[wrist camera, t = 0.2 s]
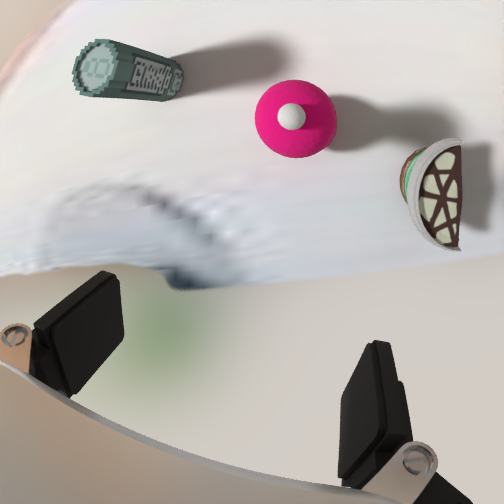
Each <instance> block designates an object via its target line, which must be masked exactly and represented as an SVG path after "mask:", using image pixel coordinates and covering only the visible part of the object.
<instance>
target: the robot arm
mask: <svg viewBox="0 0 504 504" xmlns="http://www.w3.org/2000/svg"><path fill="white" fill-rule="evenodd" d="M34 327H35V329H33V330H32V331H31V329H30V327H28V326H27V325H25V324H19V323H17V324H12V325H9V326H7V327H6V328H4V329H3V330H2V331H1V332H0V504H473V503H472V502H471V501H470V499H468V498H467V497H466V496H465V495H463V494H462V493H461V492H460V491H459V490H457V489H456V488H455V487H454V486H452V485H451V484H450V483H449V482H448V481H446V480H445V479H444V478H443V477H441V476H440V475H439V474H438V473H437V472H436V469H437V467H438V459H437V455H436V454H435V452H434V450H433V449H432V448H431V447H429V446H428V445H427V444H424V443H422V442H418V441H413V436H412V430H411V423H410V417H409V411H408V405H407V400H406V395H405V390H404V385H403V383H402V382H401V381H398V377H397V372H396V367H395V362H394V358H393V353H392V349H391V345H390V343H389V342H384V341H378V340H374V341H373V342H372V343H368V344H367V345H366V347H365V349H364V352H363V354H362V356H361V358H360V360H359V362H358V364H357V366H356V368H355V370H354V372H353V374H352V376H351V378H350V381H349V382H348V384H347V386H346V388H345V390H344V392H343V394H342V397H341V412H340V413H341V414H340V442H339V443H340V444H339V462H338V478H342V485H341V486H343V487H339V486H333V485H326V484H319V483H312V482H306V481H300V480H294V479H289V478H284V477H279V476H273V475H269V474H264V473H260V472H255V471H251V470H247V469H243V468H239V467H235V466H231V465H228V464H224V463H220V462H217V461H214V460H210V459H207V458H204V457H201V456H198V455H195V454H192V453H189V452H186V451H183V450H180V449H178V448H175V447H172V446H169V445H166V444H164V443H161V442H159V441H156V440H154V439H151V438H149V437H146V436H144V435H142V434H139V433H137V432H135V431H132V430H130V429H128V428H126V427H124V426H122V425H119V424H117V423H115V422H113V421H111V420H109V419H107V418H105V417H103V416H101V415H99V414H97V413H95V412H93V411H91V410H89V409H87V408H85V407H83V406H82V405H80V404H78V403H76V402H74V401H73V400H71V399H70V397H71V396H72V395H73V394H77V393H78V392H79V391H80V390H81V389H82V387H83V386H84V385H85V384H86V382H87V381H88V380H89V379H90V378H91V377H92V375H93V374H94V373H95V372H96V371H97V370H98V368H99V367H100V366H101V365H102V364H103V363H104V361H105V360H106V359H107V358H108V357H109V356H110V354H111V353H112V352H113V351H114V350H115V349H116V347H117V346H118V345H119V344H120V343H121V342H122V340H123V338H124V325H123V316H122V306H121V295H120V282H119V280H118V279H117V277H116V275H115V274H112V273H109V272H106V271H100V272H99V273H97V274H96V275H95V276H93V277H92V278H91V279H89V280H88V281H87V282H85V283H84V284H83V285H81V286H80V287H79V288H77V289H76V290H75V291H74V292H72V293H71V294H70V295H68V296H67V297H66V298H64V299H63V300H62V301H61V302H60V303H58V304H57V305H56V306H54V307H53V308H52V309H51V310H50V311H48V312H47V313H46V314H45V315H43V316H42V317H41V318H39V319H38V320H37V321H36V322H35V323H34ZM57 391H58V392H57ZM346 487H351V488H346Z"/></svg>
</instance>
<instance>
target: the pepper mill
mask: <svg viewBox="0 0 504 504" xmlns="http://www.w3.org/2000/svg"><path fill="white" fill-rule="evenodd" d="M255 125H256V129H257V132H258V134H259V136H260V138H261V139H262V141H263V142H264V143H265V144H266V145H267V146H268V147H269V148H270V149H271V150H273V151H274V152H276V153H278V154H280V155H283V156H286V157H290V158H303V157H308V156H311V155H314V154H316V153H318V152H319V151H321V150H323V149H324V148H325V147H327V146H328V145H329V143H330V142H331V141H332V139H333V138H334V135H335V133H336V128H337V120H336V112H335V109H334V106H333V104H332V102H331V100H330V98H329V97H328V96H327V94H326V93H325V92H324V91H323V90H321V89H320V88H319V87H317V86H315V85H314V84H311V83H309V82H306V81H302V80H287V81H283V82H280V83H277V84H275V85H273V86H272V87H271V88H269V89H268V90H267V91H266V92H265V93H264V94H263V95H262V97H261V98H260V100H259V102H258V104H257V107H256V111H255Z"/></svg>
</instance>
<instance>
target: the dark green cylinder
mask: <svg viewBox="0 0 504 504" xmlns="http://www.w3.org/2000/svg"><path fill="white" fill-rule="evenodd" d="M181 69H182V68H180V65H179V64H176V61H173V60H171V59H168V58H165V57H163V56H160V55H157V54H154V53H151V52H148V51H145V50H142V49H139V48H136V47H133V46H130V45H126V44H123V43H120V42H116V41H113V40H108V39H95V42H89V44H88V46H85V48H84V49H81V52H80V56H77V57H76V60H75V64H74V67H73V71H72V74H74V77H73V81H72V82H75V83H74V86H76V89H75V90H78V91H80V94H79V95H84V96H89V97H103V98H123V99H138V100H150V101H161V102H163V100H169V98H172V96H175V95H176V92H177V91H180V88H181V85H182V82H183V79H184V77H182V74H183V71H181Z"/></svg>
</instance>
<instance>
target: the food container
mask: <svg viewBox="0 0 504 504" xmlns="http://www.w3.org/2000/svg"><path fill="white" fill-rule="evenodd" d="M460 145H465V143H463V141H462V140H460V139H459V138H457V137H454V138H446V139H442V140H440V141H438V142H436V143H434V144H432V145H431V146H429V147H424V148H422V149H419V150H417V151H415V152H414V153H413V154H412V155H411V156H410V157H408V158H407V160H406V162H405V164H404V165H403V167H402V170H401V175H400V189H401V192H402V195H403V197H404V199H405V201H406V203H407V204H408V208H409V212H410V215H411V218H412V221H413V223H414V225H415V226H416V228H417V230H418V231H419V232H420V233H421V235H422V236H423V237H424V238H426V239H427V240H428V241H429V242H431V243H433V244H434V245H436V246H438V247H441V248H443V249H445V250H449V251H461V249H460V248H459V247H458V241H459V225H460V215H461V207H462V176H461V146H460Z"/></svg>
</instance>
